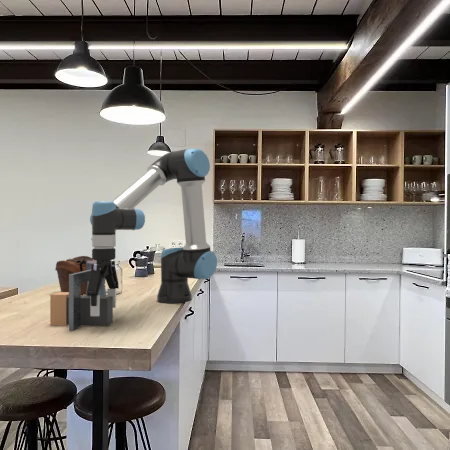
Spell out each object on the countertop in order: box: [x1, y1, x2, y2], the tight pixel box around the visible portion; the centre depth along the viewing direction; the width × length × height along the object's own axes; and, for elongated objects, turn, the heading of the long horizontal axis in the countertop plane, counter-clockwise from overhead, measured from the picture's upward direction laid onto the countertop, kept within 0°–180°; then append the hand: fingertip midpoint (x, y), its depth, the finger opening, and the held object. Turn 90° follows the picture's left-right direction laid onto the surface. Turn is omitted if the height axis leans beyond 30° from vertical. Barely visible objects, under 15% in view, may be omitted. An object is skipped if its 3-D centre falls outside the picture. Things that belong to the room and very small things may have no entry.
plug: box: [49, 291, 114, 327], centre depth 138 cm, size 20×6×10 cm, turn 83°
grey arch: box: [68, 270, 91, 332], centre depth 138 cm, size 2×18×18 cm, turn 173°
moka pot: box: [79, 259, 107, 296], centre depth 178 cm, size 10×15×20 cm, turn 78°
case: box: [55, 255, 93, 296], centre depth 201 cm, size 18×20×18 cm
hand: (103, 311), depth 137 cm, fingers open, 13 cm apart
